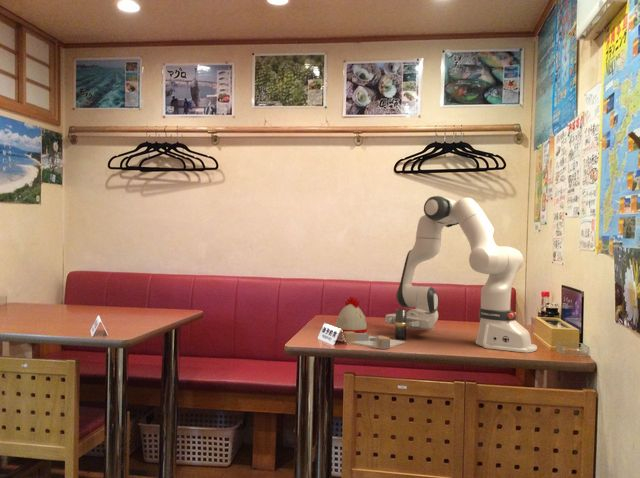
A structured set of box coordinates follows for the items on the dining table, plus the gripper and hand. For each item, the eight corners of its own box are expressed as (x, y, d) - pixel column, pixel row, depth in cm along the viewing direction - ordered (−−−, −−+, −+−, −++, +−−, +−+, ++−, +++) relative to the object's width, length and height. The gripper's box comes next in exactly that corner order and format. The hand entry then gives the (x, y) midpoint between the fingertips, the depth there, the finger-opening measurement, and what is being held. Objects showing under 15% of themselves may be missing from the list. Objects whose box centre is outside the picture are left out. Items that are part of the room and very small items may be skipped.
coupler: (408, 339, 206) (409, 309, 206) (402, 340, 202) (403, 310, 202) (398, 337, 208) (398, 308, 209) (392, 339, 205) (393, 309, 205)
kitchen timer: (350, 335, 211) (351, 299, 211) (328, 330, 222) (329, 296, 222) (373, 331, 221) (374, 297, 221) (351, 327, 231) (352, 294, 231)
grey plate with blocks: (408, 343, 196) (408, 333, 196) (386, 350, 183) (386, 340, 183) (357, 335, 211) (357, 326, 211) (334, 341, 197) (334, 331, 197)
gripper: (394, 309, 222) (378, 312, 211) (437, 314, 210) (422, 318, 199) (394, 323, 222) (377, 327, 211) (437, 329, 210) (422, 334, 199)
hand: (400, 323), depth 205 cm, fingers open, 8 cm apart
